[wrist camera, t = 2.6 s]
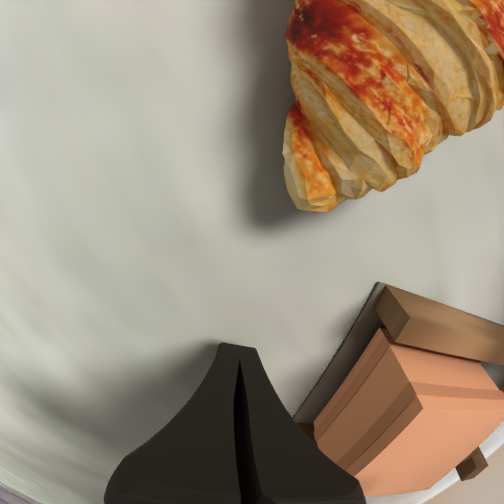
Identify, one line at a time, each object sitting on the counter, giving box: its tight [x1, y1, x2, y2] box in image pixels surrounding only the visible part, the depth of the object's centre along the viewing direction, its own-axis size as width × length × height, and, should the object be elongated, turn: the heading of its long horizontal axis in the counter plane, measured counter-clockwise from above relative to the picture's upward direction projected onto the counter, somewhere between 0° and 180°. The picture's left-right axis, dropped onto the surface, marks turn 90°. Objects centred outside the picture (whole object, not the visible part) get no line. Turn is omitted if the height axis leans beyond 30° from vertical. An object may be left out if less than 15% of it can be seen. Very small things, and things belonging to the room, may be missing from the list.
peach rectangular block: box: [313, 327, 504, 497], centre depth 11 cm, size 6×6×4 cm
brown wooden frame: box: [293, 282, 504, 481], centre depth 12 cm, size 15×11×4 cm
